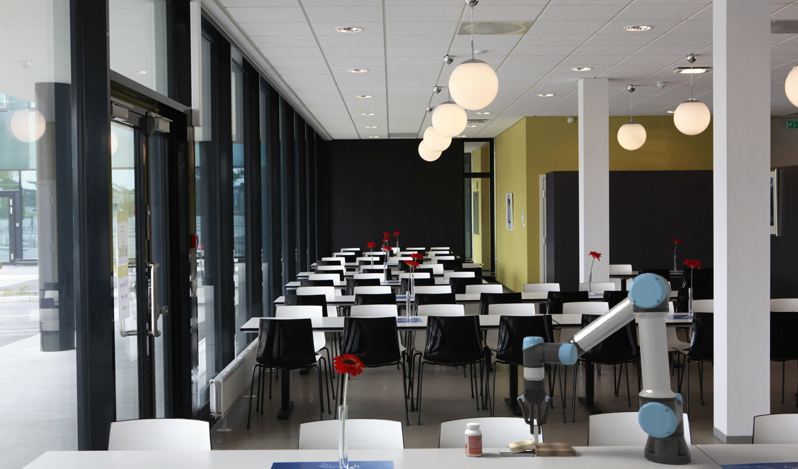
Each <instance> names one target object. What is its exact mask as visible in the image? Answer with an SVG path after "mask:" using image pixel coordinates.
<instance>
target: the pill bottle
mask: <svg viewBox="0 0 798 469" xmlns="http://www.w3.org/2000/svg"><path fill="white" fill-rule="evenodd" d="M480 428H481V426H480V423H479V422H468V423H466V429H465V431H464V447H465V448H464V449H465V450H464V451H465V455H466V456H467V457H475V458H476V457H477V456H478V457H482V456H483V433H482V430H481V429H480Z"/></svg>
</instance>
